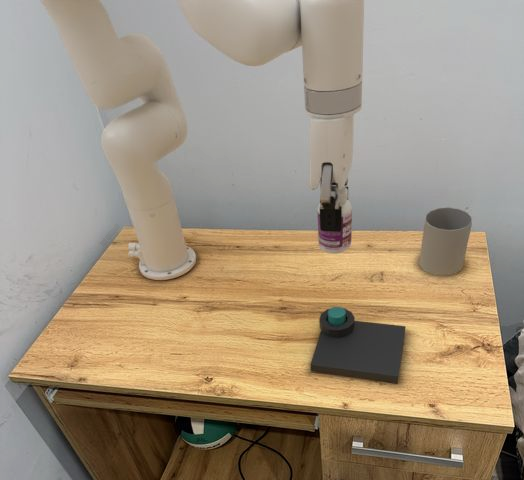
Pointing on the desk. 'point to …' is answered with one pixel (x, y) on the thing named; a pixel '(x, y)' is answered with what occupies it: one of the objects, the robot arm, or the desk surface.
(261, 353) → the desk surface
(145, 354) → the desk surface
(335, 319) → the button
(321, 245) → the pill bottle
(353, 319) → the scale
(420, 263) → the cup
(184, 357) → the desk surface
